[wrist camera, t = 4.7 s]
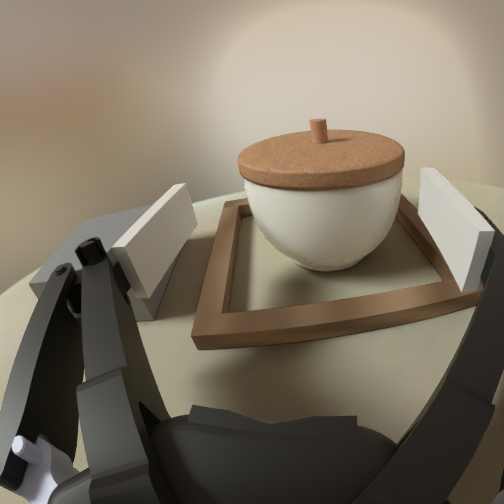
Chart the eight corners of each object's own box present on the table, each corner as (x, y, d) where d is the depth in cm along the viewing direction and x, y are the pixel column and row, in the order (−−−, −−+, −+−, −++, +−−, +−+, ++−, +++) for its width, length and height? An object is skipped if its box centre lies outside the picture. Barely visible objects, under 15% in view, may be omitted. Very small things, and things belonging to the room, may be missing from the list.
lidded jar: (409, 227, 21) (413, 114, 16) (372, 316, 15) (383, 143, 10) (300, 206, 27) (287, 110, 22) (227, 269, 21) (194, 141, 16)
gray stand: (185, 239, 26) (172, 200, 24) (153, 320, 17) (128, 271, 15) (99, 253, 27) (84, 220, 25) (53, 321, 19) (28, 283, 16)
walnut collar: (388, 192, 27) (388, 182, 26) (478, 304, 13) (485, 289, 12) (227, 212, 29) (225, 201, 28) (197, 349, 15) (190, 336, 14)
